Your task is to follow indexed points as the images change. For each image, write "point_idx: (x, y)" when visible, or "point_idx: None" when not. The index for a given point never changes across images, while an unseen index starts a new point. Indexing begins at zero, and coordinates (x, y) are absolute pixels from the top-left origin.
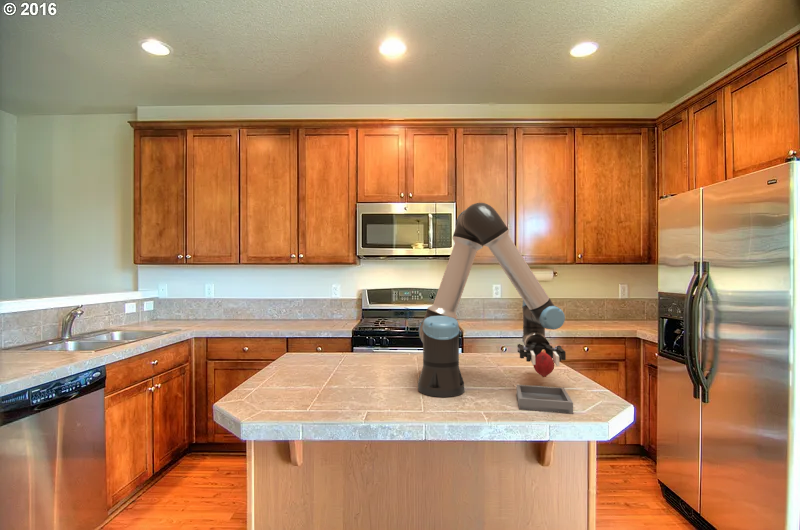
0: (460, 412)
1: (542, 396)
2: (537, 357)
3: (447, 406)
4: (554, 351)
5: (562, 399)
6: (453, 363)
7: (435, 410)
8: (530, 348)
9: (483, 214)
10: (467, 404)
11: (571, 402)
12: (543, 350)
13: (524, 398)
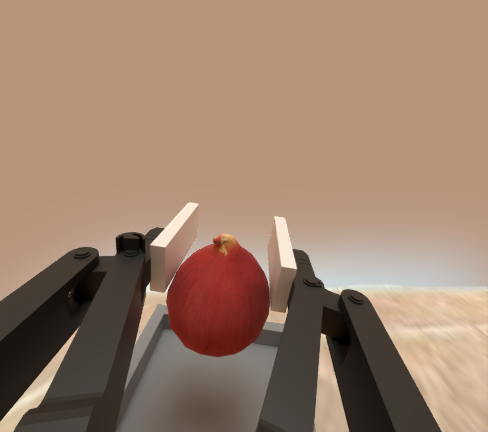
0: (408, 324)
1: None
2: (256, 261)
3: (464, 357)
4: (143, 260)
5: (125, 420)
6: None
7: (461, 332)
8: (302, 347)
9: None
10: (434, 377)
11: (161, 305)
12: (228, 234)
13: (282, 328)
